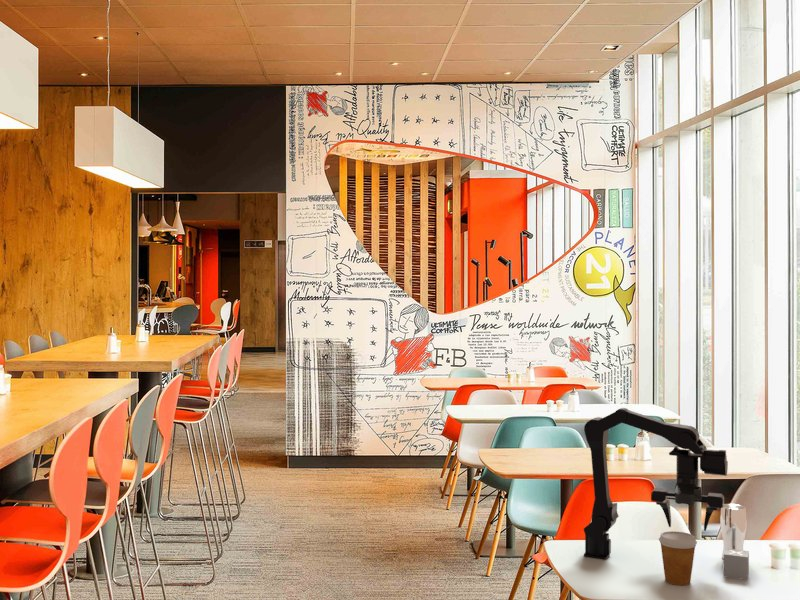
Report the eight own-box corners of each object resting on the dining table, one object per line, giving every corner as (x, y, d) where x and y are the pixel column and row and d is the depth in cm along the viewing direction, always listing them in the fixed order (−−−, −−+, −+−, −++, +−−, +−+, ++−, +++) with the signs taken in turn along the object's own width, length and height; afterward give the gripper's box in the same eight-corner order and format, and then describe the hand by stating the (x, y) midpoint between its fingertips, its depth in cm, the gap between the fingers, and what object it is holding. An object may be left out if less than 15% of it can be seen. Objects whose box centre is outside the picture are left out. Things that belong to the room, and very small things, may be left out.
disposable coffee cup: (696, 578, 220) (696, 532, 220) (697, 589, 211) (697, 542, 211) (659, 574, 223) (659, 529, 223) (658, 585, 214) (658, 538, 214)
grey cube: (723, 576, 221) (723, 554, 221) (725, 570, 227) (725, 548, 227) (747, 579, 219) (747, 557, 219) (748, 573, 224) (748, 551, 224)
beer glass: (748, 563, 233) (748, 510, 233) (722, 561, 234) (722, 508, 234) (743, 556, 240) (743, 504, 240) (718, 554, 241) (718, 503, 241)
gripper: (648, 474, 225) (648, 531, 225) (721, 480, 217) (721, 540, 217) (654, 467, 235) (654, 522, 235) (724, 473, 227) (724, 530, 227)
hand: (687, 528), depth 228 cm, fingers open, 9 cm apart
